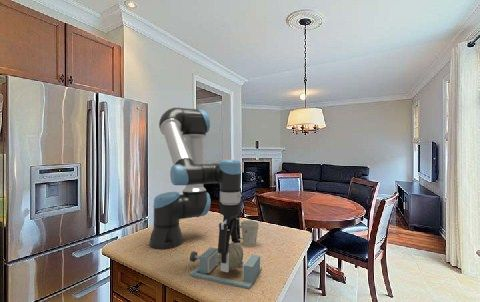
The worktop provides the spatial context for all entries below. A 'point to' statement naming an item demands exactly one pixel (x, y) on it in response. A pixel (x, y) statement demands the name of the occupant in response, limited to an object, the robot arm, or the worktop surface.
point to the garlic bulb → (234, 256)
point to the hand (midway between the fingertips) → (229, 265)
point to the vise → (249, 273)
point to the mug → (249, 232)
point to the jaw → (206, 260)
